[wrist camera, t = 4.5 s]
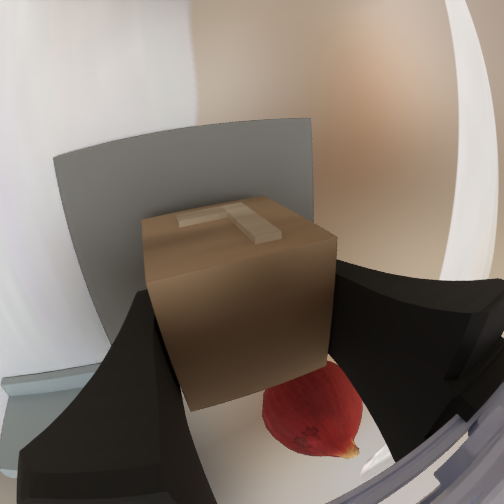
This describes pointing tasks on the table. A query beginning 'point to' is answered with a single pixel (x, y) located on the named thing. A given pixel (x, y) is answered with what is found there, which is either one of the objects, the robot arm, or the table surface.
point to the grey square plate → (171, 192)
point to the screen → (36, 408)
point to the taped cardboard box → (240, 296)
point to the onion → (315, 413)
